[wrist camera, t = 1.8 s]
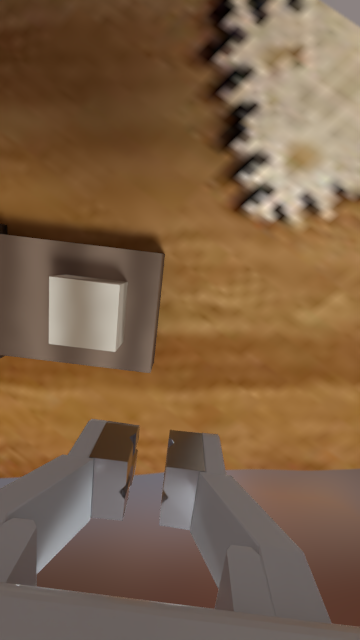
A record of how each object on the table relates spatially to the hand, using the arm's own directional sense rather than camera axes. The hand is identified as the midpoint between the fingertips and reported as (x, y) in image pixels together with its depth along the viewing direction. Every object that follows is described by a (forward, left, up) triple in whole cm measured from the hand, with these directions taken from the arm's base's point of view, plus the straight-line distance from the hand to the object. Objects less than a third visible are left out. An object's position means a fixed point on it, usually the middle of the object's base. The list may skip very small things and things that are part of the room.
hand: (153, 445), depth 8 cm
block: (+8, 0, -18) cm, 20 cm away
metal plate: (+10, 0, -21) cm, 23 cm away
